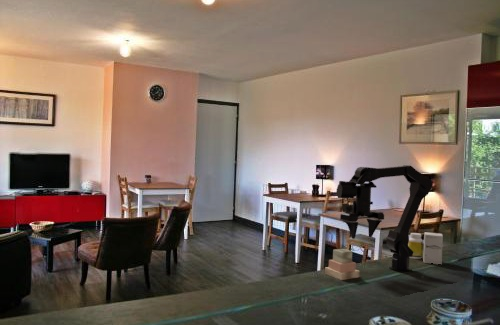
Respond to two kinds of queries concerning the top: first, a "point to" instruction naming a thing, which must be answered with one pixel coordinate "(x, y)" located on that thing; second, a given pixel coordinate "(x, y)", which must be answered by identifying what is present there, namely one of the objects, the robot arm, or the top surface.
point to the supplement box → (433, 248)
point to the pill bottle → (416, 245)
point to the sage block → (342, 255)
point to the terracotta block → (342, 266)
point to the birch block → (341, 274)
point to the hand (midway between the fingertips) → (361, 237)
